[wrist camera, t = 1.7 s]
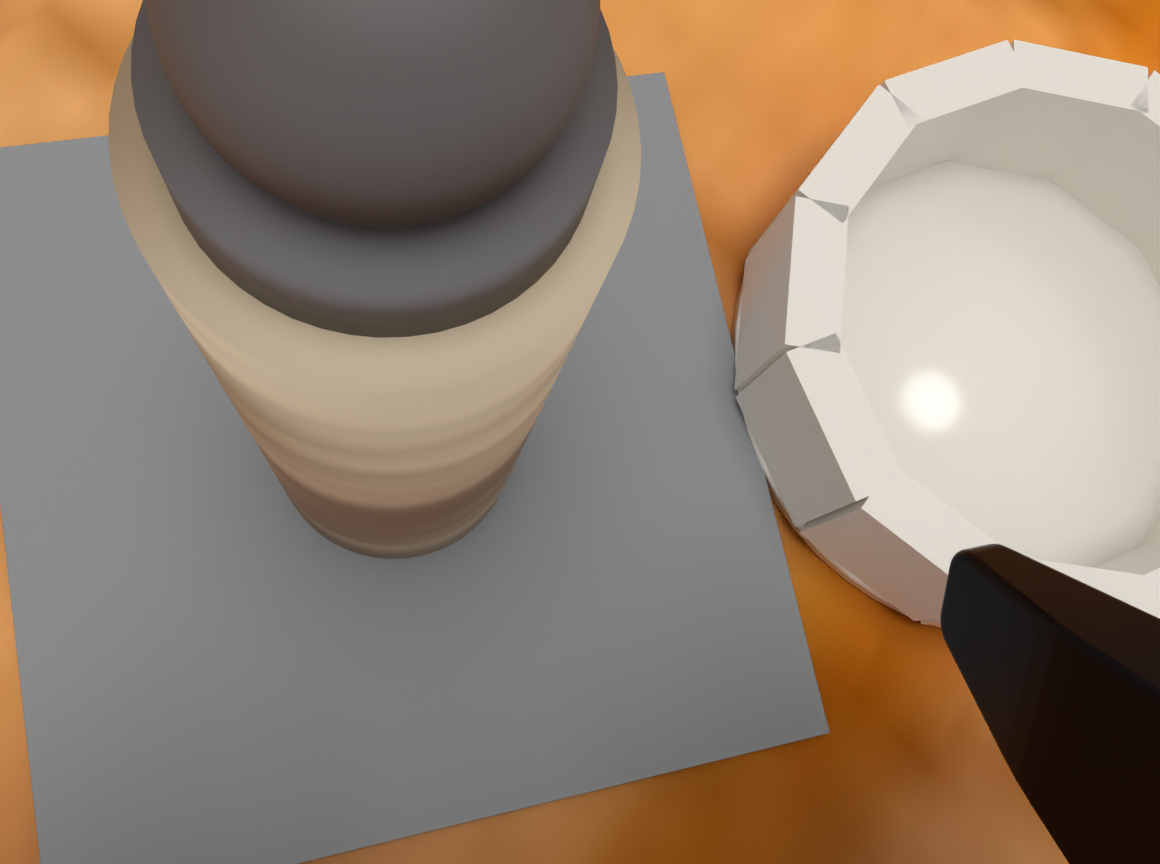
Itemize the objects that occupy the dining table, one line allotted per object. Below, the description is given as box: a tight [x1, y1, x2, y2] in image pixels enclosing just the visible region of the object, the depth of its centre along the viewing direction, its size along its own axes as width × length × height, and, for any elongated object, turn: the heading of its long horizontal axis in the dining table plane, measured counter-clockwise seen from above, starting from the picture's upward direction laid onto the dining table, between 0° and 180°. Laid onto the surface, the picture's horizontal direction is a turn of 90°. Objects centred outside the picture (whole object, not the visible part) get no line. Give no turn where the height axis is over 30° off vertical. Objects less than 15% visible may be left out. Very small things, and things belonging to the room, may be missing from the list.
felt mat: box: [0, 72, 830, 864], centre depth 21 cm, size 14×14×1 cm
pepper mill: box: [109, 0, 641, 559], centre depth 13 cm, size 4×4×15 cm
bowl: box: [731, 40, 1160, 628], centre depth 22 cm, size 11×11×4 cm
